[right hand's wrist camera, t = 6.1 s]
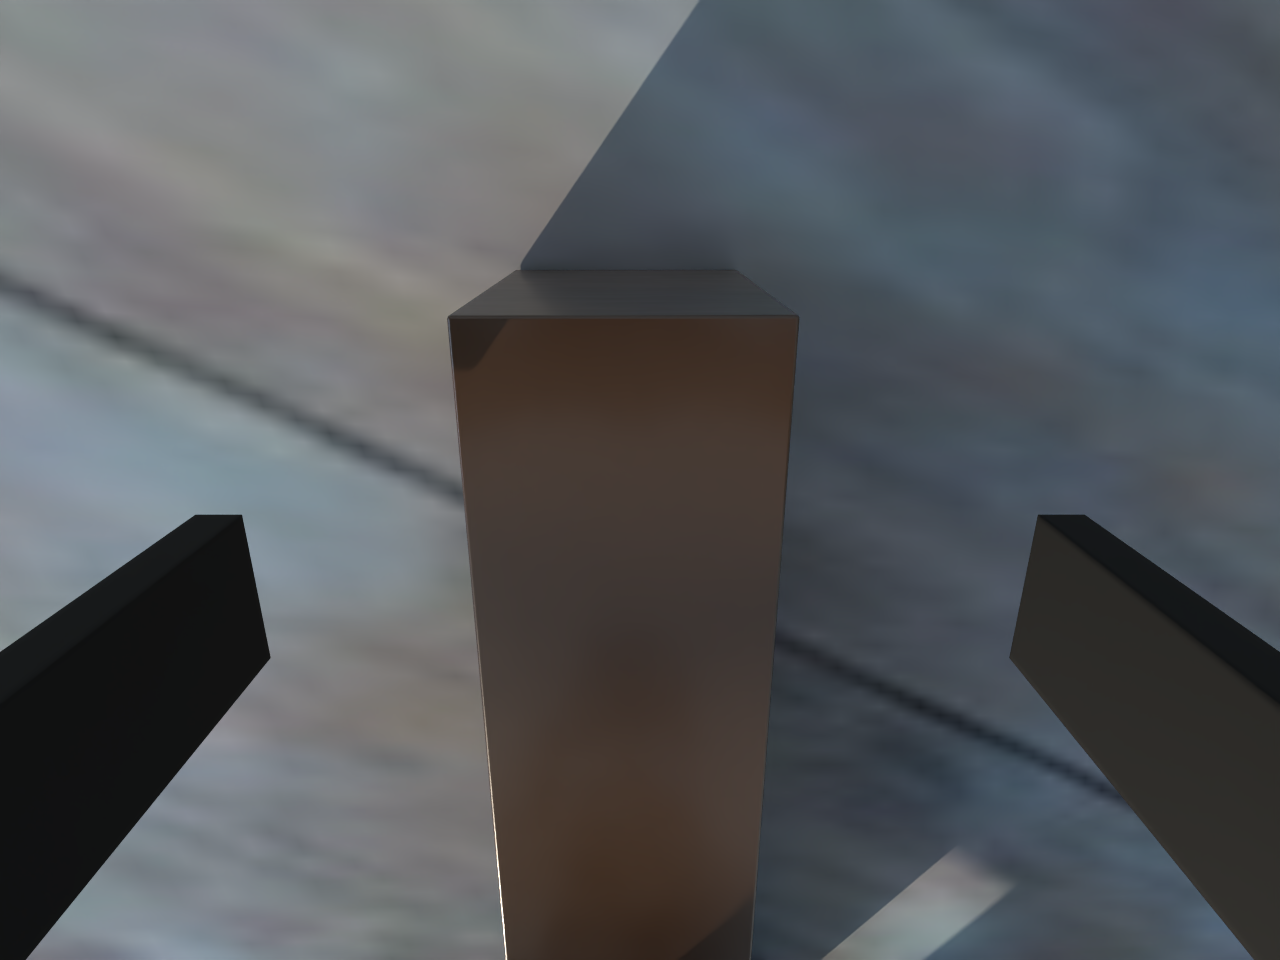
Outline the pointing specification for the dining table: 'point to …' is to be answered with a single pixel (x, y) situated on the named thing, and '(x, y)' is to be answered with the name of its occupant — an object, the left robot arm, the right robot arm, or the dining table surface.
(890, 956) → the dining table surface
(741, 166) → the dining table surface
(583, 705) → the walnut beam
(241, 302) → the dining table surface
